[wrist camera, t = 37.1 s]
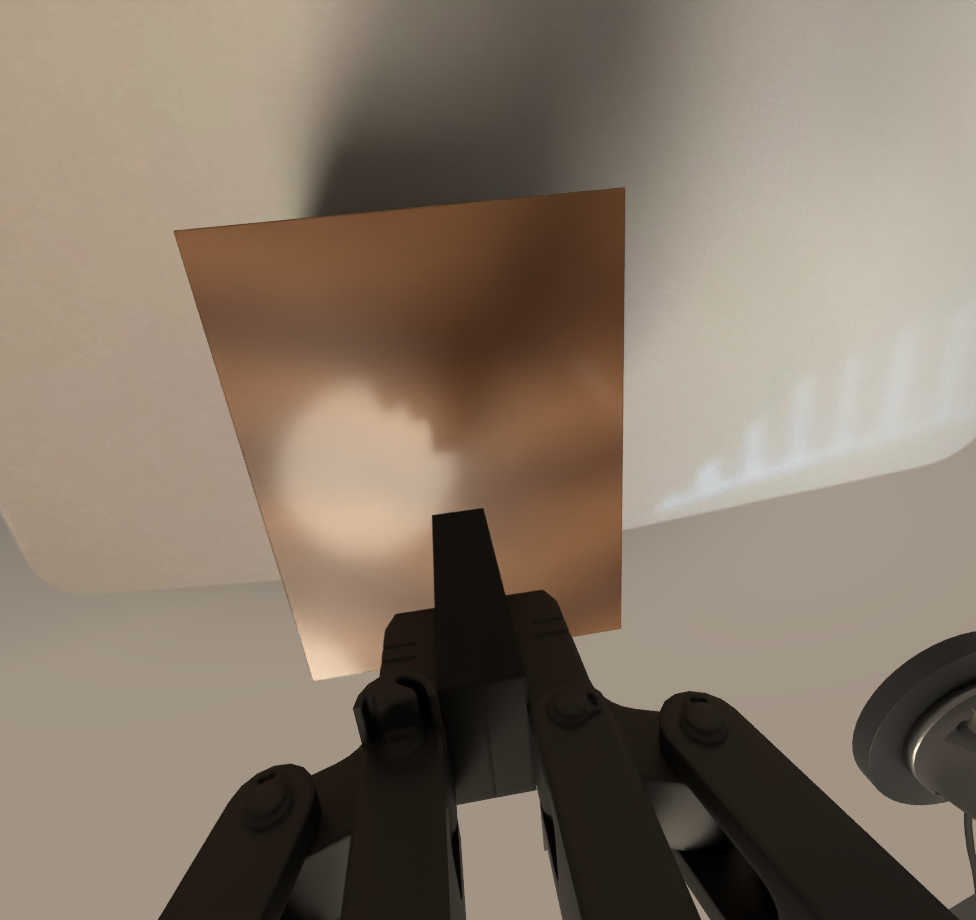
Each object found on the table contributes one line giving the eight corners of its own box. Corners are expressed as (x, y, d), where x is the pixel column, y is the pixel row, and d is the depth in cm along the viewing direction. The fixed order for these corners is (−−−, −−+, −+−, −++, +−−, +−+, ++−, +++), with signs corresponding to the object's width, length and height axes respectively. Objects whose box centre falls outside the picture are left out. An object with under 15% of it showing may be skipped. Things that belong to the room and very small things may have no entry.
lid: (183, 231, 16) (172, 230, 16) (617, 190, 18) (625, 186, 17) (316, 668, 24) (313, 681, 23) (615, 618, 25) (621, 629, 24)
